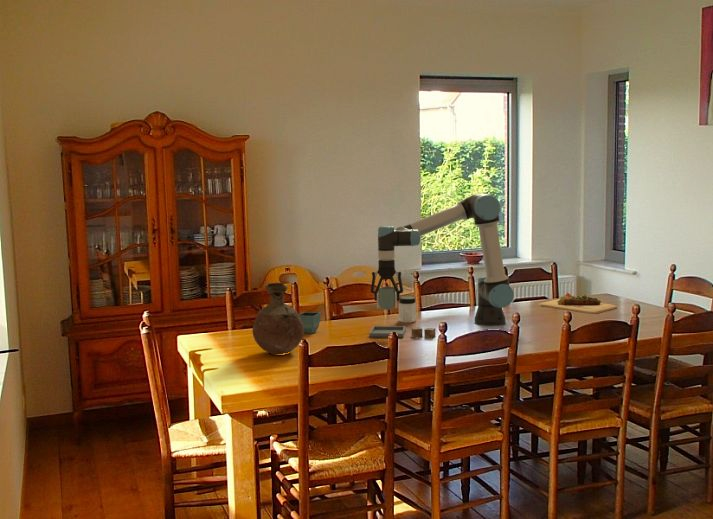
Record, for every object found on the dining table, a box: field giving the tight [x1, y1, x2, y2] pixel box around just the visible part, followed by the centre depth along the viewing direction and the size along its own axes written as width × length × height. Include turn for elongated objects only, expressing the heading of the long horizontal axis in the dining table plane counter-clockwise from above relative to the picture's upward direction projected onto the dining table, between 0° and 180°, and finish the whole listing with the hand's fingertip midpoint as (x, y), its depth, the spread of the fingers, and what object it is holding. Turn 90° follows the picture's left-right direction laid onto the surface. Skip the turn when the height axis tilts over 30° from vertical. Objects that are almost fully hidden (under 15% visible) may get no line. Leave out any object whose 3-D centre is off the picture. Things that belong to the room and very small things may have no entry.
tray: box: [368, 325, 407, 339], centre depth 360 cm, size 16×16×2 cm
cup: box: [378, 286, 396, 311], centre depth 358 cm, size 8×8×10 cm
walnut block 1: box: [411, 326, 423, 339], centre depth 353 cm, size 4×4×4 cm
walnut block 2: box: [423, 327, 436, 339], centre depth 351 cm, size 4×4×4 cm
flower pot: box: [298, 311, 321, 334], centre depth 367 cm, size 9×9×9 cm
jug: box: [251, 282, 304, 355], centre depth 326 cm, size 22×22×30 cm
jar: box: [398, 295, 418, 323], centre depth 388 cm, size 9×8×12 cm
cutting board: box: [538, 291, 618, 315], centre depth 415 cm, size 35×23×8 cm
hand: (387, 307), depth 359 cm, fingers closed on cup, 8 cm apart
